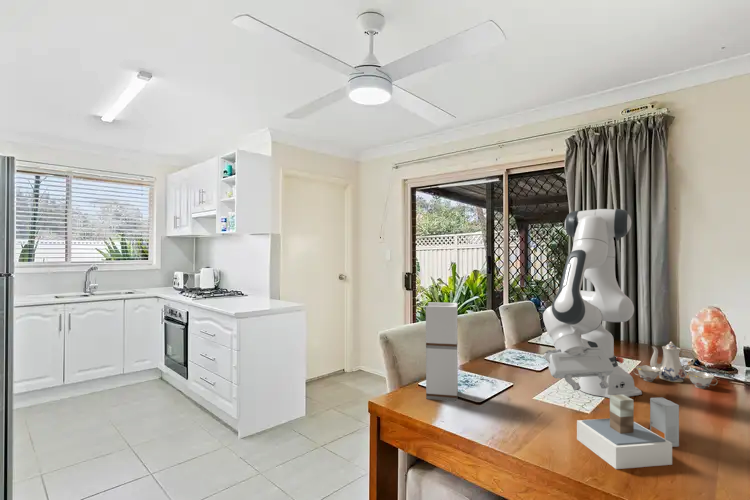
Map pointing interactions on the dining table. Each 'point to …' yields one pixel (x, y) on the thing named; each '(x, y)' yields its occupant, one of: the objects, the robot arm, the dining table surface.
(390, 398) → the dining table surface
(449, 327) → the banded white tower
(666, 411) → the skincare box
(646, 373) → the chinaware
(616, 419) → the block
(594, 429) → the block
